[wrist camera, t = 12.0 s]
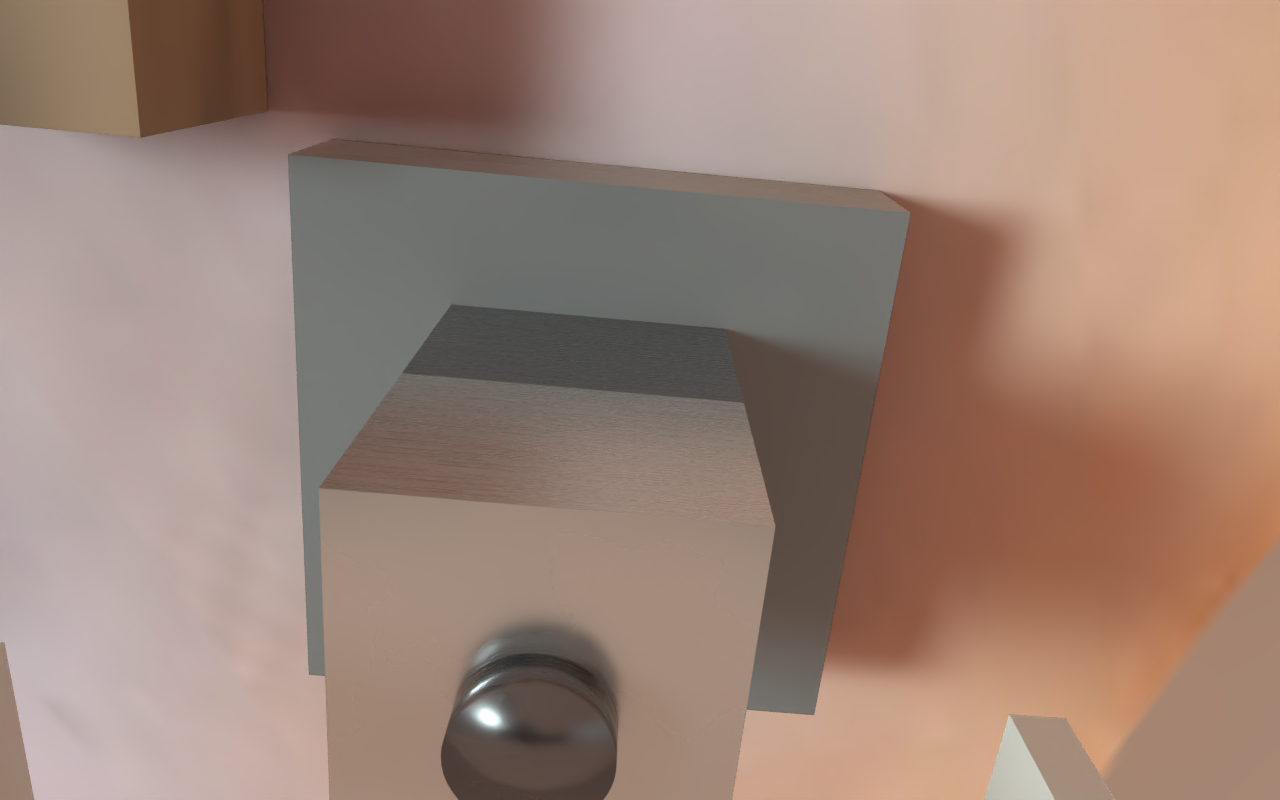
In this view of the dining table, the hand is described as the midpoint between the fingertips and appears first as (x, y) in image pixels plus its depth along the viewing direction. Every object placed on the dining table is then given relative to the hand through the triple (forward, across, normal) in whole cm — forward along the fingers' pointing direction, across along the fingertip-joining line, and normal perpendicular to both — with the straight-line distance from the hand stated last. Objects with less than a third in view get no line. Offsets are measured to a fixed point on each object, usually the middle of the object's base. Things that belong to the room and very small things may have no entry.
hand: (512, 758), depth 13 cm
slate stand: (+13, 0, 0) cm, 13 cm away
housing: (+10, 0, 0) cm, 10 cm away
